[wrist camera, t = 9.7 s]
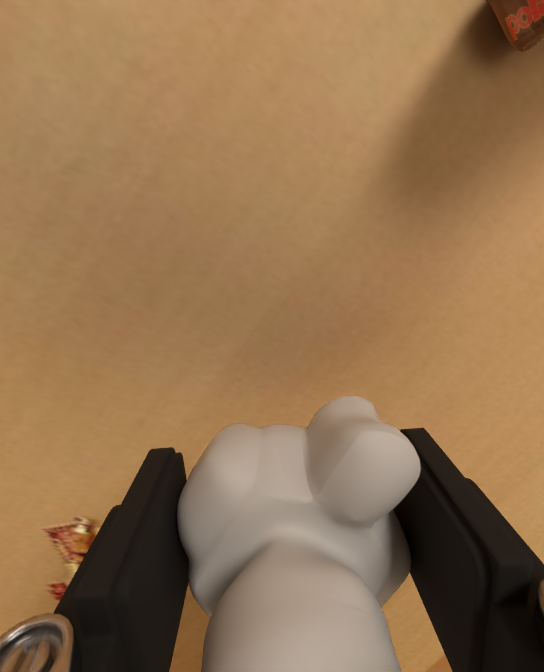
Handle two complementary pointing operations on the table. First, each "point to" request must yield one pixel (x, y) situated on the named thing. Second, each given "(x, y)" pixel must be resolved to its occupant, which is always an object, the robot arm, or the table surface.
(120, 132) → the table surface
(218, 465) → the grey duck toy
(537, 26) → the tin
